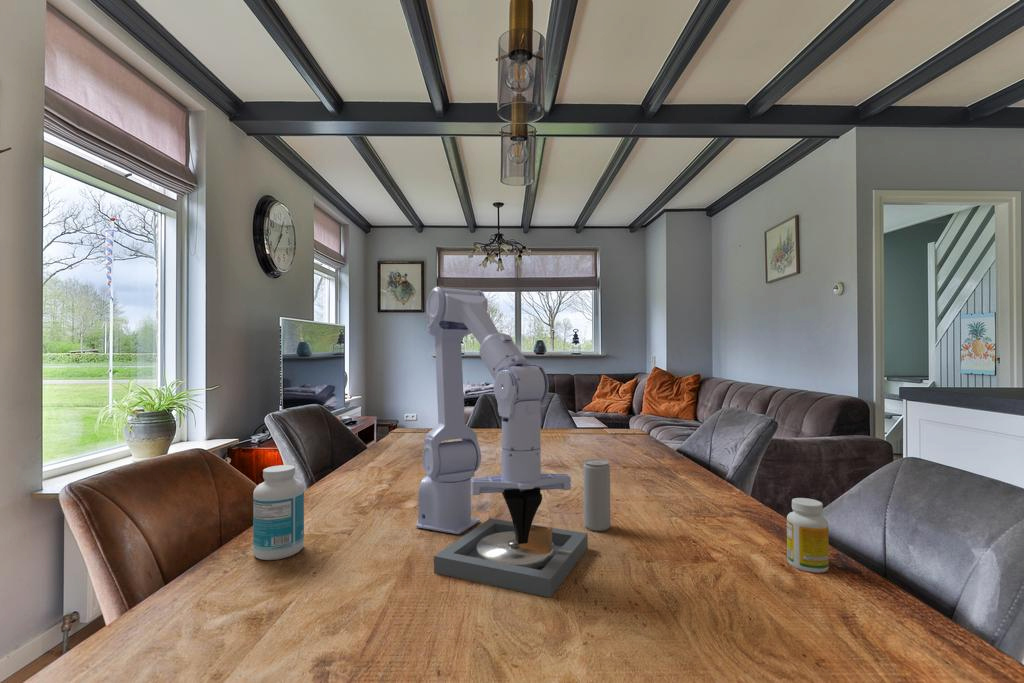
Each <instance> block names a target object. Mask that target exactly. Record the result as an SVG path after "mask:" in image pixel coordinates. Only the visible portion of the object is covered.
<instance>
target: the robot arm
mask: <svg viewBox="0 0 1024 683" xmlns="http://www.w3.org/2000/svg"><path fill="white" fill-rule="evenodd" d="M488 305H489V303H488V298H487V296H485V294H484V292H483V291H482V290H480V289H475V290H470V289H469V290H468V289H460V288H459V289H457V288H448V287H447V288H446V287H445V288H444V287H440V286H435V287H433V289H432V290H431V291H430V293H429V295H428V297H427V300H426V325H427V332H428V333H429V334H430V335H431V336H433V337H434V350H435V352H434V353H435V354H434V356H435V374H436V378H435V380H436V397H437V398H436V399H437V419H438V420H437V421H438V422H437V423H438V424H436V426H435V427H434V428H433V429H432V430H430V431H429V432H428V433H427V434H426V435H425V437H424V441H423V451H422V461H421V462H422V467H423V470H424V473H425V476H424V477H423V478H422V480H421V481H420V484H419V487H418V491H417V492H418V493H417V494H418V495H417V496H418V497H417V500H418V501H417V523H416V524H415V528H418V529H419V528H420V529H424V530H430V531H431V530H432V531H435V532H442V533H449V534H453V535H461V534H462V533H464V532H465V531H467V530H469V529H470V528H471V527H473V526H474V525H476V524H478V523H479V522H481V519H480V518H479V517H472V496H480V495H481V494H495V493H501V494H502V495H501V496H502V497H503V498H504V502H505V504H506V505H507V508H508V512H509V514H510V518H511V522H513V525H514V530H515V536H516V541H517V543H518V544H524V543H528V537H529V532H530V528H531V524H533V521H534V519H535V516H536V513H537V512H538V509H539V507H540V506H541V503H542V501H543V494H542V493H541V491H548V490H549V491H550V490H563V491H570V490H571V489H572V486H571V485H572V484H571V483H572V482H571V475H569V474H567V473H544V472H543V473H542V471H541V470H542V469H541V468H542V466H541V465H542V460H541V456H542V453H541V443H542V442H541V439H542V438H541V426H542V425H541V424H542V423H541V403H543V402H544V401H545V400H546V399H547V397H548V393H549V390H550V389H549V386H550V384H549V378H548V376H547V373H546V371H545V368H544V367H543V366H542V365H541V364H533V362H531V361H528V360H527V358H526V357H525V356H524V355H523V353H522V352H521V351H520V349H519V348H518V346H517V345H516V343H515V342H514V340H513V338H512V337H511V335H510V334H506V333H502V332H499V331H498V328H497V327H496V326H495V324H494V322H493V320H492V318H491V316H490V315H489V312H488V310H489V309H488V307H489V306H488ZM471 334H472V336H473V337H474V338H475V339H476V340H477V342H478V343H479V345H480V347H479V351H478V354H479V357H480V358H481V360H482V361H483V363H484V365H485V366H486V368H487V369H488V372H489V373H490V374H491V376H492V378H493V380H494V384H493V394H494V396H495V400H496V401H497V402H496V403H497V412H498V416H499V417H501V474H497V475H492V476H491V475H490V476H484V477H475V473H476V472H477V471H478V470H479V468H480V466H481V462H482V453H481V451H482V450H481V448H480V445H479V441H478V440H479V439H478V434H477V432H475V430H474V429H473V428H470V426H468V424H466V417H465V399H464V398H465V396H464V376H463V374H464V373H463V359H462V358H463V356H462V355H463V354H462V341H463V340H464V338H465V337H467V336H470V335H471ZM459 439H460V440H459ZM451 440H453V441H451Z"/></svg>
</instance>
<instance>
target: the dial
mask: <svg viewBox="0 0 1024 683" xmlns="http://www.w3.org/2000/svg"><path fill="white" fill-rule="evenodd" d="M536 524H537V523H535V524H534V523H532V524H531V528H530V532H529V537H528V543H524V544H518V543H517V541H516V536H515V531H509V532H500V533H495V534H492V535H489V536H486V537H484V538H482V539H481V540H480V541H479V542H478V543H477V558H480V559H486V560H491V561H496V562H501V563H506V564H511V565H517V566H522V567H527V568H532V569H538V568H541V567H544V566H546V565H547V564H548V562H549V561H550V560H551V559H552V558H553V557H554V544H553V542H552V528H553V527H552V526H548V525H542V524H539V525H536Z"/></svg>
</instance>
